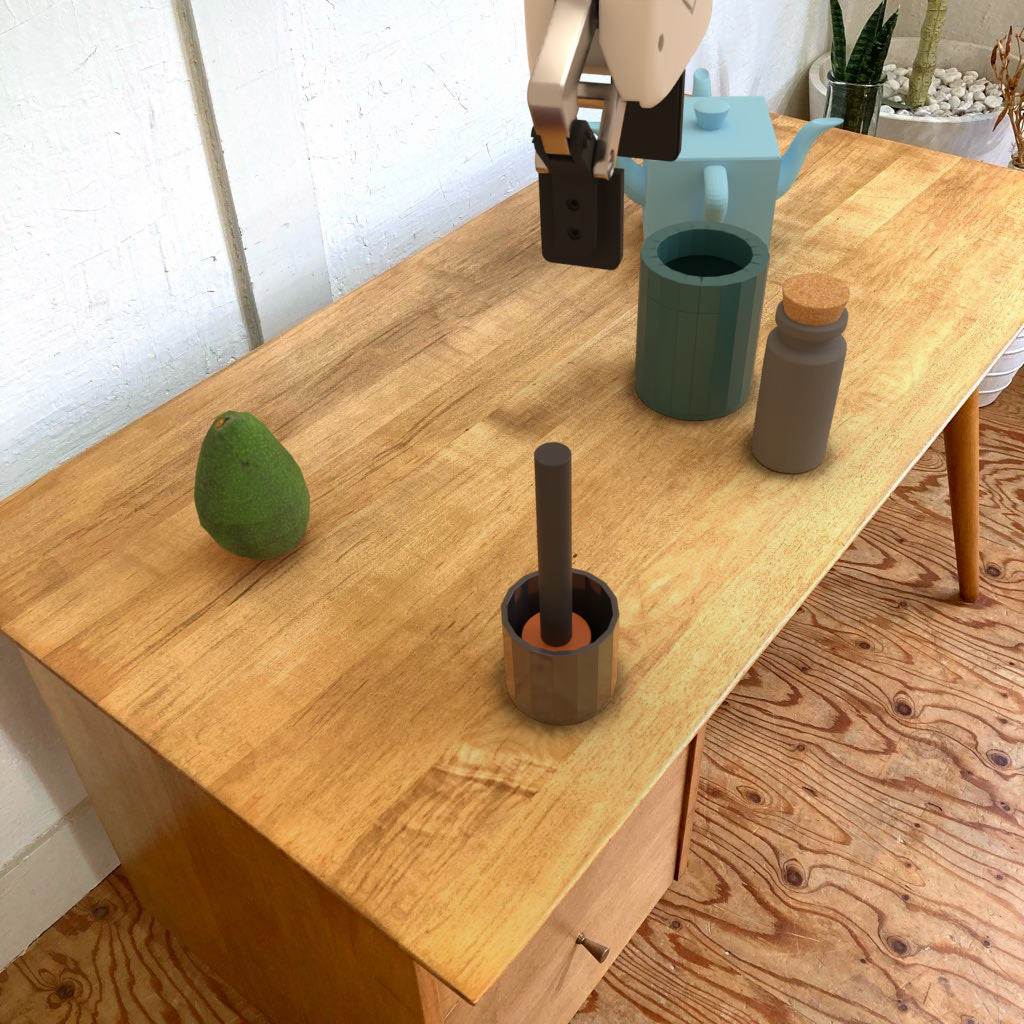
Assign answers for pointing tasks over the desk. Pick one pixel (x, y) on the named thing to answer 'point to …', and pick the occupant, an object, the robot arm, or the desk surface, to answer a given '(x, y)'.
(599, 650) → the holder
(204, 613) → the desk surface
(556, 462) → the rod with orange collar
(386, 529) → the desk surface
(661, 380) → the jar
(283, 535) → the fruit
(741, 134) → the teakettle
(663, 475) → the desk surface
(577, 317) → the desk surface
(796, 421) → the bottle
